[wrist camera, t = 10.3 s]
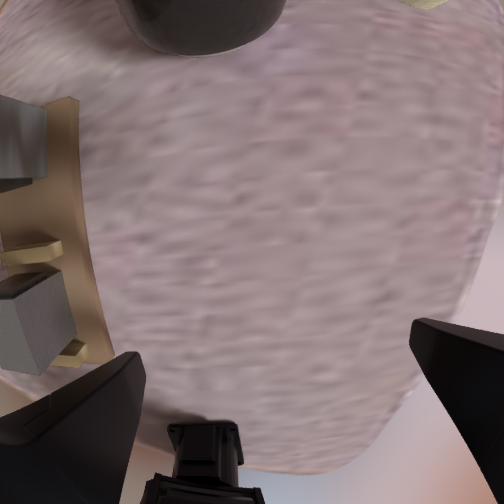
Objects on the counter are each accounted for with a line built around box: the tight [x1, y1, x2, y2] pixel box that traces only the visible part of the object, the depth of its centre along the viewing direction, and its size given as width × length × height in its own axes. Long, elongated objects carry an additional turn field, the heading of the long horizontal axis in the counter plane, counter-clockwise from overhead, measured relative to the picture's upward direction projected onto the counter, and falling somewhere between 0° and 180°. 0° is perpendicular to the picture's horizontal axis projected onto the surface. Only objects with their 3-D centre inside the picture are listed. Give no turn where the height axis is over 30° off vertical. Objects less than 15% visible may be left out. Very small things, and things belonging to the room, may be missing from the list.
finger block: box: [0, 271, 78, 375], centre depth 16 cm, size 5×4×6 cm
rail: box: [0, 95, 115, 368], centre depth 15 cm, size 20×8×8 cm, turn 4°
